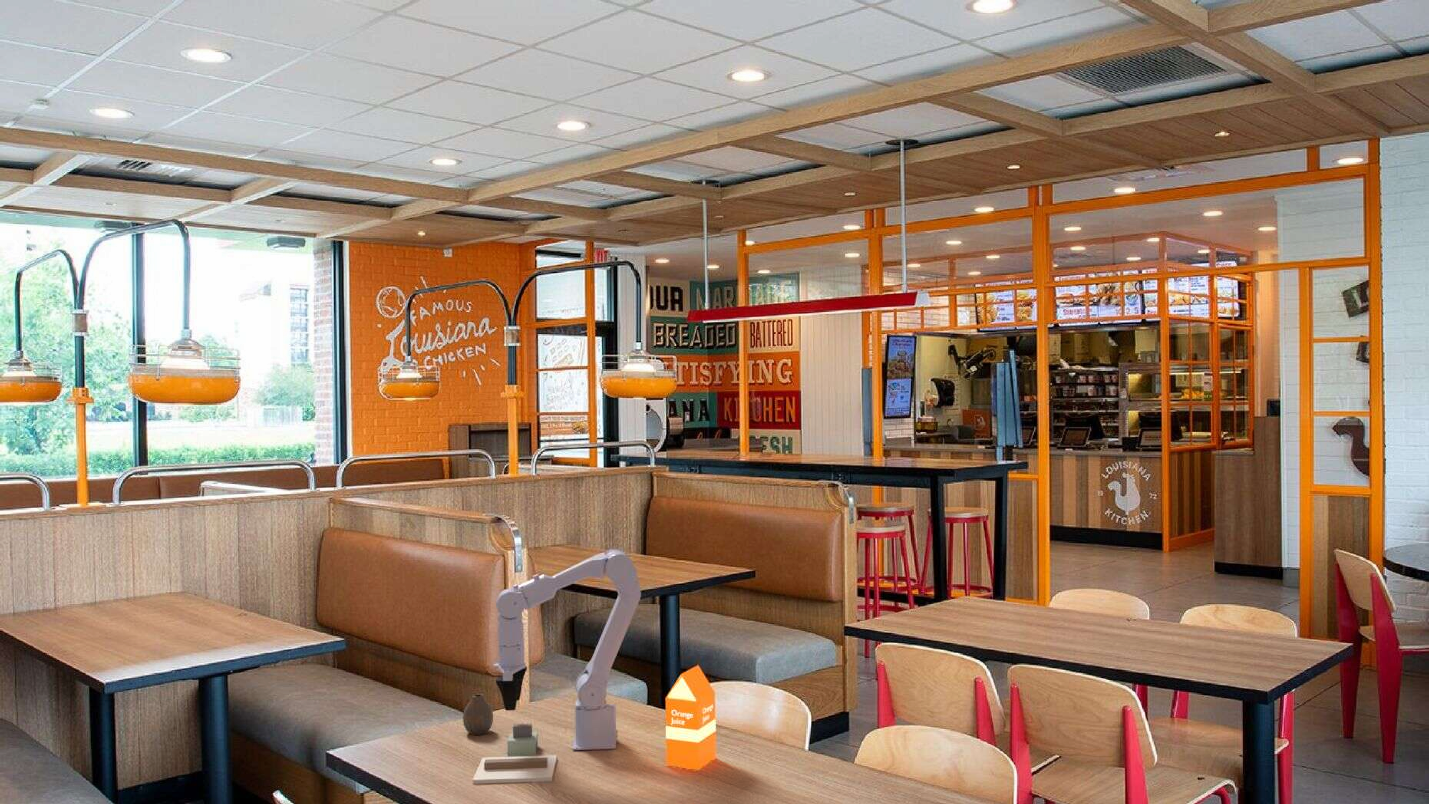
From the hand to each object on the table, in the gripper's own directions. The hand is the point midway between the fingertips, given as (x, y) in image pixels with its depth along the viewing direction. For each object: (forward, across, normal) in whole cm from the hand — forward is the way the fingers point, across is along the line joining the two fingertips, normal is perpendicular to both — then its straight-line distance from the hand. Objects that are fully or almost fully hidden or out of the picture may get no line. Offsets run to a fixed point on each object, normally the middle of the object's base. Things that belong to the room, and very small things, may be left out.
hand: (512, 704), depth 256 cm
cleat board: (+10, +14, +2) cm, 17 cm away
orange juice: (+11, +11, +39) cm, 42 cm away
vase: (+10, -14, -10) cm, 20 cm away
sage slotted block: (+10, +1, +2) cm, 11 cm away
